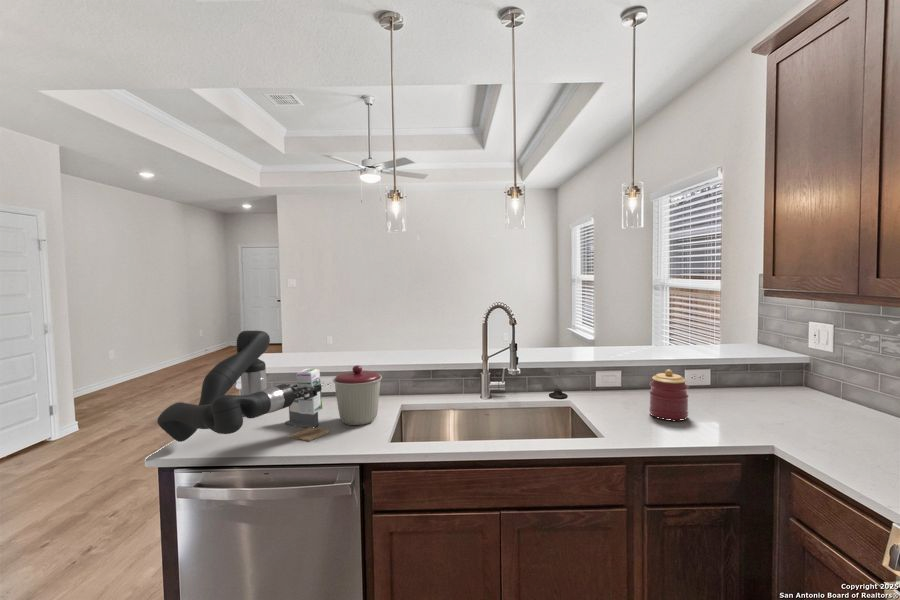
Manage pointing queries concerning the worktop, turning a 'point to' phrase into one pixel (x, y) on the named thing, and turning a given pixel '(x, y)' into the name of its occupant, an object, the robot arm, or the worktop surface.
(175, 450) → the worktop surface
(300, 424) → the label board
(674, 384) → the canister
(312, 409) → the syrup box
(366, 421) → the canister
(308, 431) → the coaster
